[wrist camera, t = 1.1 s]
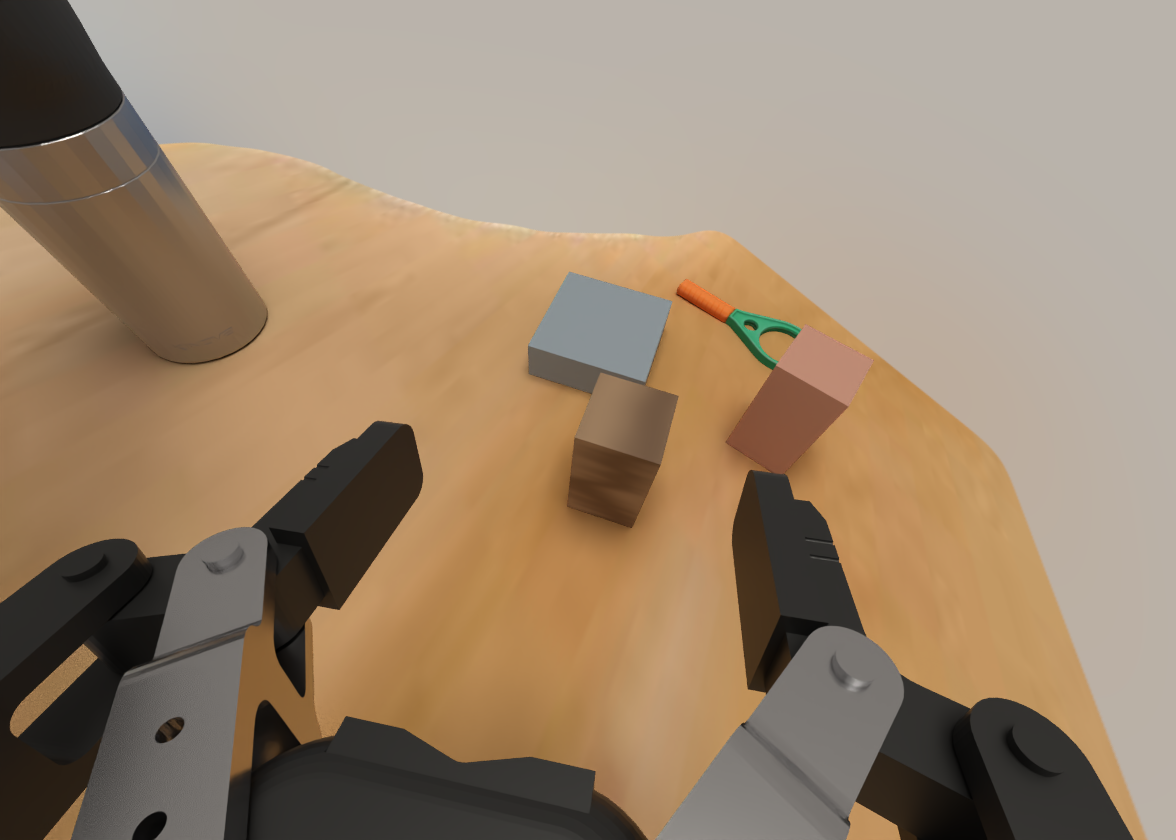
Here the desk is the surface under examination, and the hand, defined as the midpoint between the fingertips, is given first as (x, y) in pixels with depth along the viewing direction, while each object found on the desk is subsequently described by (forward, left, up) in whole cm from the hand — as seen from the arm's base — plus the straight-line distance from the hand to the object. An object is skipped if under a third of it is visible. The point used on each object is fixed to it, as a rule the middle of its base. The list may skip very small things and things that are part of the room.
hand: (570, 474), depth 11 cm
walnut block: (-6, +9, -22) cm, 25 cm away
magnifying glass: (-14, +30, -23) cm, 40 cm away
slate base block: (-18, +16, -23) cm, 33 cm away
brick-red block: (-3, +23, -22) cm, 32 cm away
